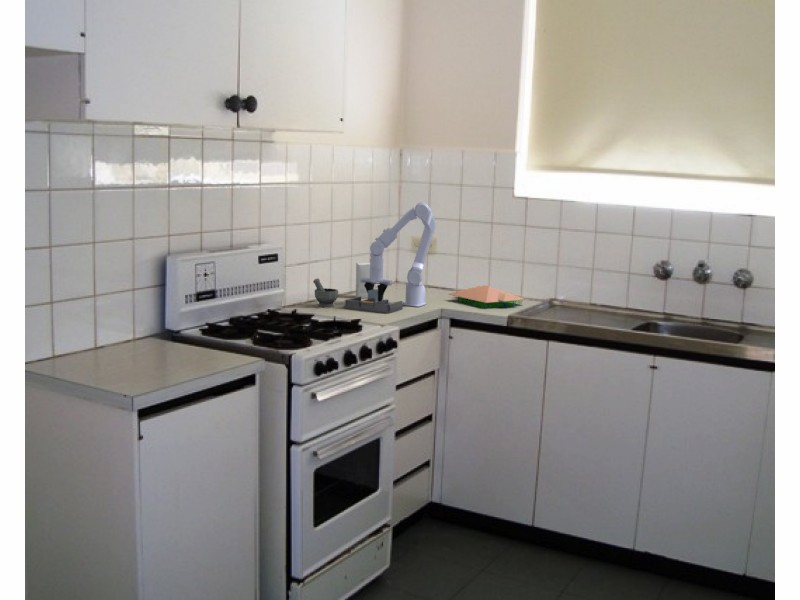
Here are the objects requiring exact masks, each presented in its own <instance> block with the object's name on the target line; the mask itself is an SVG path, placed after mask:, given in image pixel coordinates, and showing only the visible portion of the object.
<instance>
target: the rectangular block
mask: <svg viewBox="0 0 800 600" xmlns="http://www.w3.org/2000/svg"><path fill="white" fill-rule="evenodd" d="M370 298H375V302H379V301H378V288H376V289H372V290H368V298H367V299H370ZM382 300H384V297H383V298H382Z"/></svg>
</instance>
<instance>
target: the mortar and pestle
mask: <svg viewBox="0 0 800 600" xmlns="http://www.w3.org/2000/svg"><path fill="white" fill-rule="evenodd" d="M313 284H314V285H315V287H316V289H314V298H315V299H316V301H317V302H318V307H320V308H333V307H334V306H335V305H334V303H335V302H336V300H338V298H339V297H338V295H339V289H335V288H325V287H324V286H323V285H322V283H321V280H320V278H314V280H313Z"/></svg>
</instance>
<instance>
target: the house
mask: <svg viewBox="0 0 800 600" xmlns="http://www.w3.org/2000/svg"><path fill="white" fill-rule="evenodd" d="M448 295H449V296H454V297H457V298H458V300H457V301H458V303H460V299H461V302H462V301H463V303H464V304H465V303H466V304H467V303H470V306H473V305H474V306H475V307H477V306H479V308H481V309H483V306H484V305H488V306H486V309H488V308H489V309H492V307H493V309H495V308H499V307H500V308H501V307H503V308H508V307H512V308H515V307H517V305H518V306H521V301H524V300H526V298H523V297H521V296H517V295H515V294H512V293H509V292H506V291H504V290H501V289H498V288H495V287H492V286H489V285H481V286H480V285H478V286H475V287H470V288H466V289H462V290H457V291H455V292H452V293H451V292H450V293H448ZM467 299H468V300H467ZM466 301H467V302H466ZM495 305H496V306H495Z"/></svg>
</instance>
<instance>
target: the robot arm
mask: <svg viewBox="0 0 800 600" xmlns="http://www.w3.org/2000/svg"><path fill="white" fill-rule="evenodd" d="M418 218H419V220H420V221H421V223H422V225H423V226H424V228H423V231H422V234H421V237H420V241H419V244H418V247H417V250H416V252H415V253H416V254H415V256H414V260H413V263H412V266H411V268H410V269H409V270H408V271H407V278H406V279H407V282H405V302H404V303H403V302H402V306H408V307H416V308H418V307H421V306H426V305H428V303H427V302H426V288H425V286H424V283H423V282H422V280H423V274H422V273H423V270H424V265H425V262H426V258H427V257H428V253H429V250H430V249H429V248H430V245H431V242H432V240H433V235H434V233H435V230H436V226H437V223H436V220H435V217H434V213H433V210H432V209H431V207H430V205H428V204H427V203H426V202H422V201H421V202H418V203H417V204H416V205H415V206H414V207H411V209H409V210H407V211H406V213H405V214H404V215H402V217H401V218H400V219H399V220H398V221H397V222H396V223H395V224H394V225H393V226H392V227H387V228H386V229H383V230H382V233H381V234H380V235H379V236H378V237H375V239H374V241H373V242H371V244H370V246H369V250H370V253H369V254H370V258H369V263H370V278H360V283H366V284H364V286H365V288H366V290H367V293H368V290H372V289H374V284H376V288H377V289H378V301H382V298H383V299H384V295H385V292H386V290H387V288H388V286H392V285H393V281H392V280H389V279H385V278H384V258H383V256H384V251H385V249H387V248H388V247H389V246H390V245H391V244H392V243H393V242H394V241H396V240H397V238H398V233H399V232H400V231H401V230H402V229H403V228H404V227H405V226H406V225H407V224H408V223H410V221H414V220H417V219H418Z"/></svg>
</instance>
